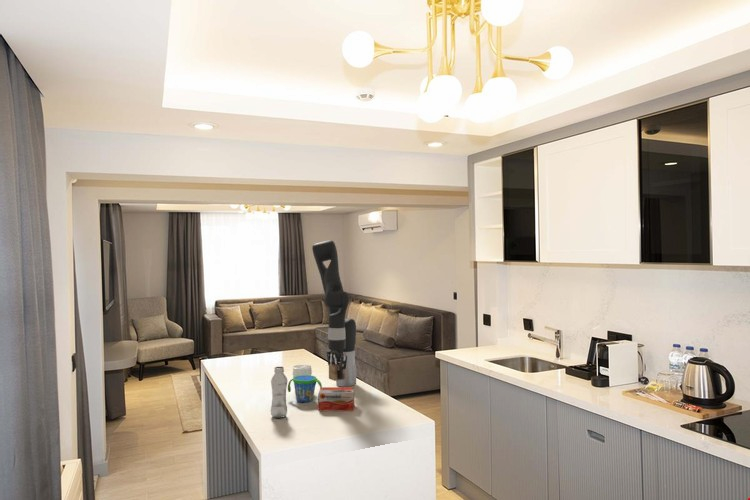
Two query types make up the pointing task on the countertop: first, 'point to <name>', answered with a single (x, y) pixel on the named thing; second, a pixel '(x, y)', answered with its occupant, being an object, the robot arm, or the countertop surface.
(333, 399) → the medicine box
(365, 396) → the countertop surface
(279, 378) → the plastic bottle
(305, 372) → the cup
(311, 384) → the snack cup
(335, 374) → the walnut block
